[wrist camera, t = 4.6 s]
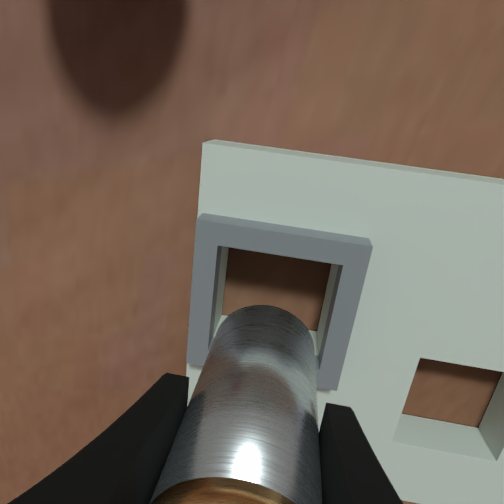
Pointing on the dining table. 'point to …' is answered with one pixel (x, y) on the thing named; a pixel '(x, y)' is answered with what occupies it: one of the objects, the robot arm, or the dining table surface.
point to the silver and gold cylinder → (250, 418)
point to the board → (372, 294)
